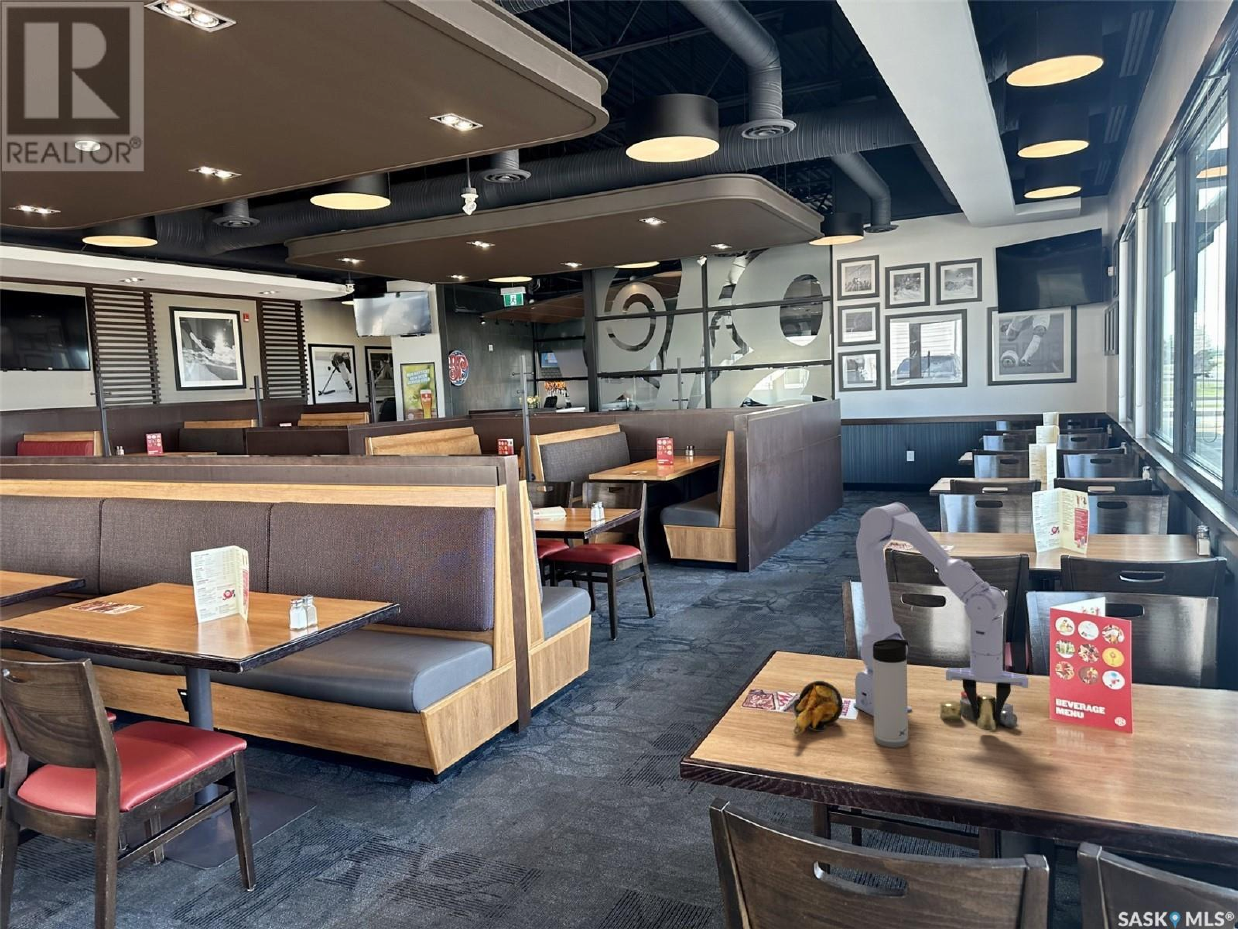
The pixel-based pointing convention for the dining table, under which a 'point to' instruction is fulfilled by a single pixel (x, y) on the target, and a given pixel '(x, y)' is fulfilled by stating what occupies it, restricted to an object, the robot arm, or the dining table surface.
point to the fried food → (817, 707)
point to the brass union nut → (950, 711)
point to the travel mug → (890, 693)
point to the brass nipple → (986, 712)
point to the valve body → (1007, 710)
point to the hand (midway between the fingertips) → (986, 718)
